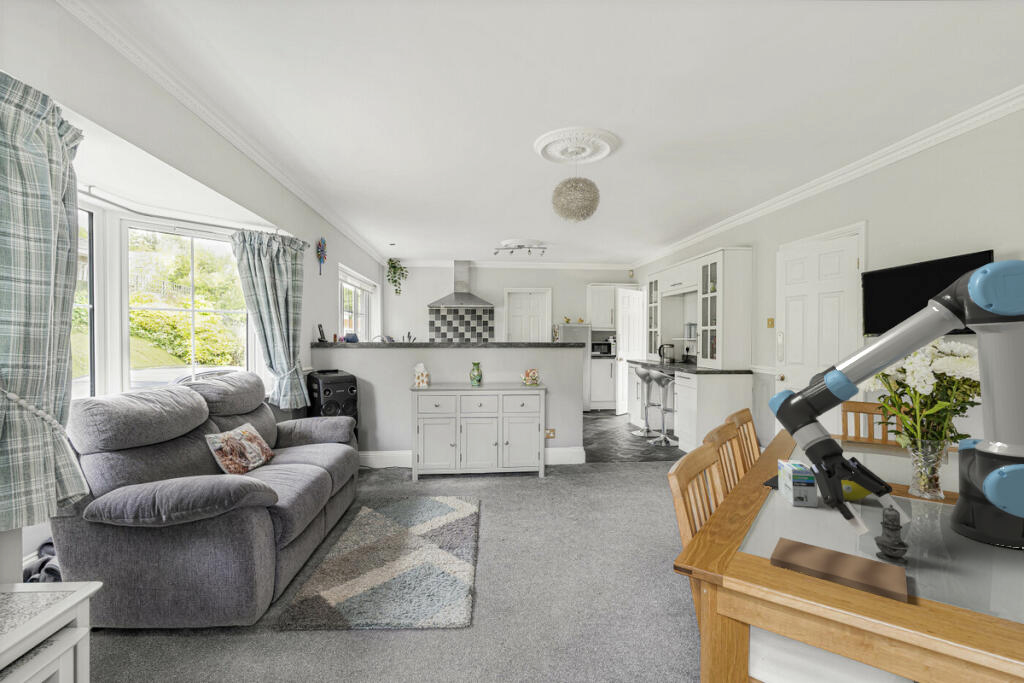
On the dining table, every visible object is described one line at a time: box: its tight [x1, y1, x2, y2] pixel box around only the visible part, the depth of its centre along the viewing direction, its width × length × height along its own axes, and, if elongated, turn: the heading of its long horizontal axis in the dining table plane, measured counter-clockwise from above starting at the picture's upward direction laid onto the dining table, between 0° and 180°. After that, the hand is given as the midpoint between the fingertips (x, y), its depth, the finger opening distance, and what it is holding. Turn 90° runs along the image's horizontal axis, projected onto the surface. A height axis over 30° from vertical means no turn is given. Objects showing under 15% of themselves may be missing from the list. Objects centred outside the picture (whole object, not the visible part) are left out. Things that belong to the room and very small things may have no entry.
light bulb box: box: [777, 459, 819, 508], centre depth 129 cm, size 11×7×11 cm, turn 169°
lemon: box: [841, 480, 873, 502], centre depth 128 cm, size 11×8×8 cm
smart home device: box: [762, 474, 779, 492], centre depth 144 cm, size 8×2×20 cm
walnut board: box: [770, 536, 909, 604], centre depth 91 cm, size 22×12×2 cm, turn 49°
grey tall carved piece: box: [873, 504, 910, 566], centre depth 95 cm, size 6×6×12 cm
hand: (886, 528), depth 96 cm, fingers open, 13 cm apart
